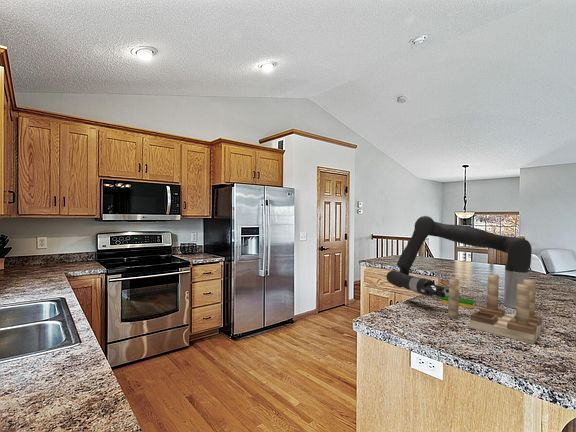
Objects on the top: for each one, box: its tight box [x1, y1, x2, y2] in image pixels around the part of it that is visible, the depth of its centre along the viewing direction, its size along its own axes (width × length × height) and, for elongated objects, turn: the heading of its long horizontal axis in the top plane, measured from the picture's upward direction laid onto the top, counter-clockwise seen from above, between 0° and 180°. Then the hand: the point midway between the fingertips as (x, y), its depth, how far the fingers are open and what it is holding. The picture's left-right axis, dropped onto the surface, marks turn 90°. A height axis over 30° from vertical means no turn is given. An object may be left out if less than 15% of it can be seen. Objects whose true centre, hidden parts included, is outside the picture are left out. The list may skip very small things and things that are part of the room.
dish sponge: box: [440, 296, 476, 309], centre depth 155 cm, size 7×14×2 cm, turn 51°
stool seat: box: [468, 273, 544, 345], centre depth 122 cm, size 20×20×19 cm
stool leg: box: [447, 278, 460, 320], centre depth 134 cm, size 4×4×16 cm
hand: (451, 294), depth 135 cm, fingers open, 8 cm apart
